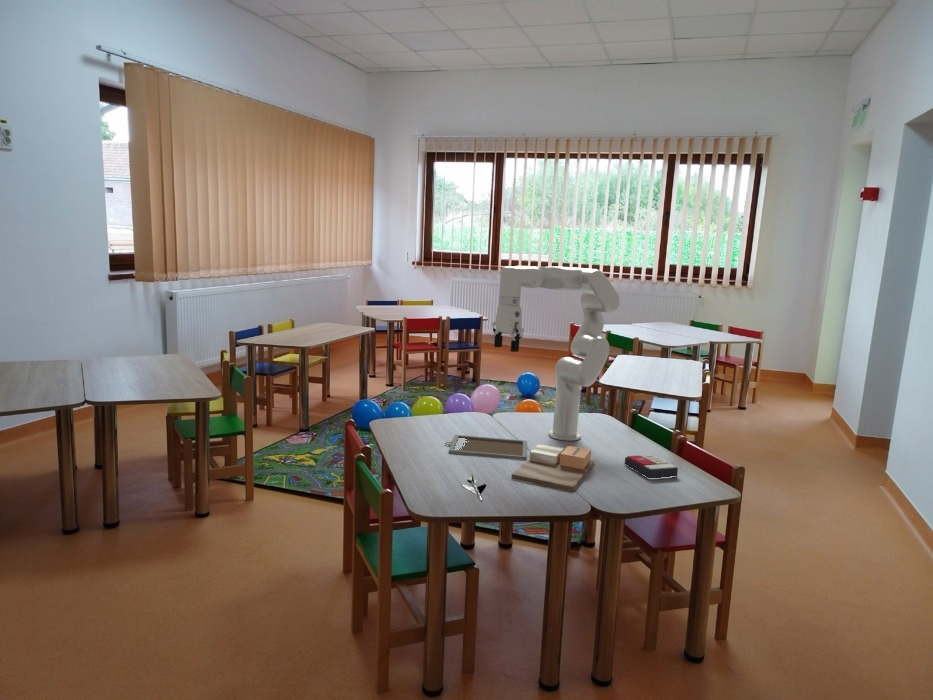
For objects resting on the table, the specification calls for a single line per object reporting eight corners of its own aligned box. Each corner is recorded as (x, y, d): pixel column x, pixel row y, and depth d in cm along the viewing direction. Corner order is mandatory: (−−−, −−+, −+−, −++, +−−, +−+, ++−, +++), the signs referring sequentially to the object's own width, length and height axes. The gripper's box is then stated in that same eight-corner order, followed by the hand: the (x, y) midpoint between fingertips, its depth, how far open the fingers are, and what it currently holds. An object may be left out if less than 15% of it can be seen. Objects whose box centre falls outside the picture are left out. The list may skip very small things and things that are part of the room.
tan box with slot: (567, 456, 219) (568, 445, 218) (590, 461, 215) (591, 449, 215) (559, 465, 210) (560, 453, 209) (583, 469, 206) (584, 457, 206)
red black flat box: (651, 453, 223) (678, 465, 209) (650, 465, 223) (677, 478, 209) (624, 455, 219) (650, 468, 205) (623, 467, 220) (649, 480, 206)
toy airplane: (468, 503, 180) (468, 495, 180) (457, 476, 200) (457, 469, 200) (494, 502, 181) (495, 495, 181) (480, 476, 202) (481, 469, 201)
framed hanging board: (526, 457, 218) (441, 449, 221) (526, 461, 218) (440, 454, 221) (527, 440, 237) (448, 433, 240) (526, 444, 237) (447, 438, 240)
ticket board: (538, 454, 225) (539, 442, 224) (594, 464, 217) (595, 452, 216) (511, 478, 200) (512, 465, 199) (573, 491, 192) (574, 477, 191)
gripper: (533, 304, 217) (529, 352, 220) (503, 299, 231) (500, 344, 234) (516, 304, 213) (512, 353, 216) (486, 299, 227) (483, 345, 230)
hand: (506, 349), depth 225 cm, fingers open, 9 cm apart
